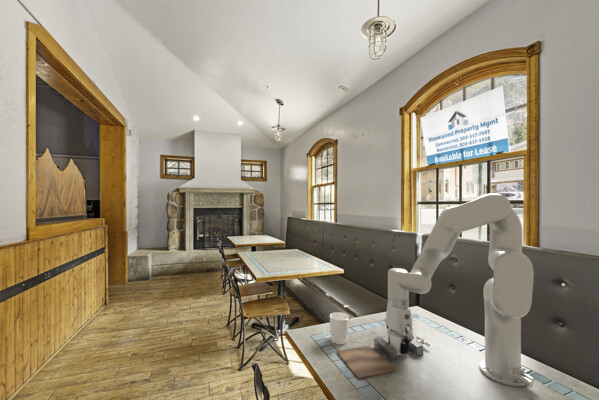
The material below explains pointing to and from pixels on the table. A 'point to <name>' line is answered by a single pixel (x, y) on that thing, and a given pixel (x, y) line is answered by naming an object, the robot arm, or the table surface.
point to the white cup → (339, 327)
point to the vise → (391, 352)
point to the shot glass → (395, 340)
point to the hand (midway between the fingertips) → (398, 348)
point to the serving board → (365, 362)
